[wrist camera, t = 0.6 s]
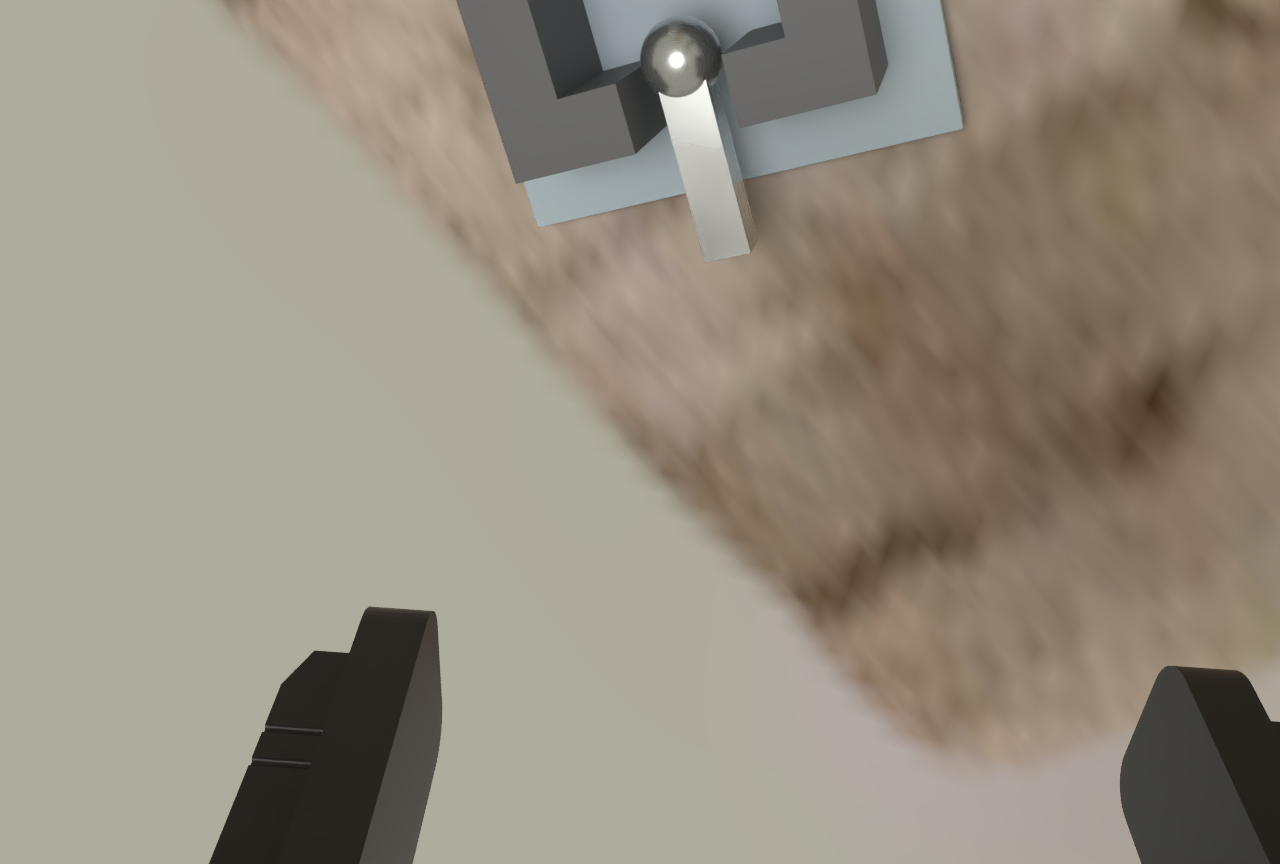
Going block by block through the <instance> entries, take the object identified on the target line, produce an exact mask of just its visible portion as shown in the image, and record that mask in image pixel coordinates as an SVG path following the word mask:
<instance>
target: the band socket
mask: <svg viewBox="0 0 1280 864" xmlns="http://www.w3.org/2000/svg"><path fill="white" fill-rule="evenodd" d="M456 1H457V4H458V7H459V10H460V13H461V16H462V19H463V23H464V26H465V29H466V32H467V35H468V38H469V41H470V44H471V47H472V50H473V53H474V56H475V59H476V62H477V65H478V69H479V72H480V75H481V78H482V81H483V84H484V87H485V90H486V93H487V96H488V99H489V102H490V105H491V108H492V111H493V114H494V118H495V121H496V124H497V127H498V130H499V133H500V136H501V139H502V142H503V145H504V148H505V151H506V154H507V157H508V160H509V163H510V167H511V170H512V173H513V176H514V179H515V182H516V184H518V183H522V182H524V185H525V188H526V191H527V194H528V197H529V200H530V204H531V207H532V210H533V213H534V216H535V219H536V222H537V225H538V227H542V226H547V225H551V224H555V223H560V222H564V221H568V220H573V219H577V218H581V217H586V216H590V215H594V214H598V213H603V212H607V211H611V210H616V209H620V208H624V207H629V206H633V205H637V204H642V203H646V202H650V201H655V200H659V199H663V198H667V197H672V196H676V195H680V194H685V193H686V191H685V188H684V184H683V180H682V177H681V173H680V169H679V166H678V162H677V158H676V155H675V151H674V147H673V144H672V140H671V136H670V133H669V129H668V125H667V122H666V118H665V114H664V111H663V107H662V103H661V100H660V96H659V95H658V94H656V93H655V92H654V91H653V90H652V89H651V88H650V87H649V85H648V84H647V82H646V81H645V79H644V77H643V74H642V71H641V66H640V53H641V48H642V44H643V42H644V39H645V37H646V36H647V34H648V33H649V31H650V30H651V29H652V28H653V27H654V26H655V25H656V24H658V23H659V22H660V21H662V20H664V19H666V18H669V17H673V16H678V15H685V16H691V17H695V18H697V19H699V20H701V21H703V22H704V23H706V24H707V25H708V26H709V27H710V28H711V29H712V30H713V31H714V32H715V34H716V35H717V37H718V39H719V41H720V44H721V48H722V55H721V57H722V61H723V63H722V69H721V72H720V75H719V77H718V83H719V87H720V91H721V95H722V99H723V103H724V107H725V111H726V115H727V119H728V123H729V127H730V131H731V135H732V138H733V142H734V146H735V150H736V154H737V158H738V162H739V166H740V170H741V174H742V178H743V180H745V179H749V178H754V177H758V176H762V175H767V174H771V173H775V172H779V171H784V170H788V169H792V168H797V167H801V166H805V165H810V164H814V163H818V162H823V161H827V160H831V159H836V158H840V157H844V156H848V155H853V154H857V153H861V152H866V151H870V150H874V149H879V148H883V147H887V146H892V145H896V144H900V143H904V142H909V141H913V140H917V139H922V138H926V137H930V136H935V135H939V134H943V133H948V132H952V131H956V130H960V129H963V123H964V120H963V115H962V109H961V103H960V98H959V92H958V87H957V81H956V76H955V70H954V65H953V59H952V54H951V48H950V43H949V37H948V31H947V26H946V20H945V15H944V9H943V4H942V0H456Z"/></svg>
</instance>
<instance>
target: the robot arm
mask: <svg viewBox="0 0 1280 864" xmlns="http://www.w3.org/2000/svg"><path fill="white" fill-rule="evenodd" d="M440 679H441V678H440V661H439V645H438V626H437V618H436V614H435V612H434V611H422V610H409V609H395V608H380V607H368V608H367V609H366V610H365V612H364V614H363V616H362V619H361V622H360V624H359V627H358V630H357V633H356V636H355V639H354V641H353V644H352V647H351V650H350V653H340V652H339V653H338V652H326V651H314V652H313V653H312V654H311V655H310V656H309V657H308V658H307V659H306V660H305V661H304V662H303V663H302V664H301V665H300V666H299V667H298V668H297V669H296V670H295V671H294V672H293V673H292V674H291V675H290V676H289V677H288V678H287V679H286V680H285V681H284V682H283V683H282V684H281V687H280V689H279V692H278V694H277V696H276V699H275V701H274V704H273V706H272V709H271V711H270V714H269V716H268V719H267V721H266V724H265V731H264V732H262V734H261V736H260V738H259V741H258V743H257V746H256V749H255V751H254V754H253V756H252V763H251V765H249V766H248V768H247V771H246V773H245V776H244V778H243V781H242V783H241V786H240V788H239V791H238V793H237V796H236V798H235V801H234V803H233V805H232V808H231V810H230V813H229V815H228V818H227V820H226V823H225V825H224V828H223V830H222V833H221V835H220V838H219V840H218V843H217V845H216V848H215V850H214V853H213V855H212V858H211V860H210V863H209V864H412V863H413V859H414V855H415V851H416V846H417V842H418V838H419V834H420V830H421V826H422V821H423V817H424V813H425V809H426V804H427V800H428V796H429V792H430V788H431V783H432V779H433V774H434V770H435V767H436V762H437V757H438V751H439V744H440V736H441V725H442V696H441V680H440ZM1120 794H1121V802H1122V808H1123V812H1124V815H1125V819H1126V821H1127V824H1128V827H1129V830H1130V833H1131V835H1132V838H1133V841H1134V844H1135V847H1136V849H1137V852H1138V855H1139V858H1140V861H1141V863H1142V864H1280V722H1273V721H1270V719H1269V717H1268V715H1267V713H1266V711H1265V709H1264V707H1263V705H1262V704H1261V702H1260V700H1259V698H1258V696H1257V694H1256V692H1255V690H1254V688H1253V686H1252V684H1251V683H1250V681H1249V679H1248V678H1247V677H1246V676H1245V675H1244V674H1243V673H1241V672H1239V671H1236V670H1222V669H1208V668H1194V667H1179V666H1167V667H1165V668H1164V669H1162V670H1161V672H1160V673H1159V674H1158V676H1157V678H1156V681H1155V683H1154V685H1153V688H1152V690H1151V693H1150V695H1149V697H1148V700H1147V702H1146V705H1145V707H1144V709H1143V712H1142V714H1141V717H1140V719H1139V721H1138V724H1137V726H1136V729H1135V731H1134V733H1133V736H1132V738H1131V741H1130V743H1129V746H1128V748H1127V750H1126V753H1125V755H1124V758H1123V762H1122V766H1121V774H1120Z"/></svg>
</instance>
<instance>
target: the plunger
mask: <svg viewBox="0 0 1280 864" xmlns="http://www.w3.org/2000/svg"><path fill="white" fill-rule="evenodd" d="M721 55H722V48H721V44H720V41H719V39H718V37H717V35H716V34H715V32H714V31H713V30H712V29H711V28H710V27H709V26H708V25H707V24H706V23H704V22H703V21H701V20H699V19H697V18H695V17H691V16H685V15H678V16H673V17H669V18H666V19H664V20H662V21H660V22H659V23H658V24H656V25H655V26H654V27H653V28H652V29H651V30H650V31H649V33H648V34H647V36H646V37H645V39H644V42H643V44H642V48H641V53H640V66H641V71H642V74H643V77H644V79H645V81H646V82H647V84H648V85H649V87H650V88H651V89H652V90H653V91H654V92H655V93H656V94H658V95H659V96H660V100H661V103H662V107H663V111H664V114H665V118H666V122H667V125H668V129H669V133H670V136H671V140H672V144H673V147H674V151H675V155H676V158H677V162H678V166H679V169H680V173H681V177H682V180H683V184H684V188H685V191H686V195H687V199H688V202H689V206H690V210H691V213H692V217H693V221H694V224H695V228H696V231H697V235H698V239H699V242H700V246H701V250H702V253H703V257H704V261H705V263H706V262H710V261H715V260H720V259H725V258H729V257H734V256H739V255H744V254H748V253H751V251H752V249H753V247H754V246H755V244H756V242H757V240H758V237H757V233H756V229H755V225H754V221H753V217H752V213H751V209H750V205H749V202H748V198H747V194H746V190H745V186H744V182H743V178H742V174H741V170H740V166H739V162H738V158H737V154H736V150H735V146H734V142H733V138H732V135H731V131H730V127H729V123H728V119H727V115H726V111H725V107H724V103H723V99H722V95H721V91H720V87H719V83H718V77H719V75H720V72H721V69H722V63H723V61H722V57H721Z"/></svg>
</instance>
